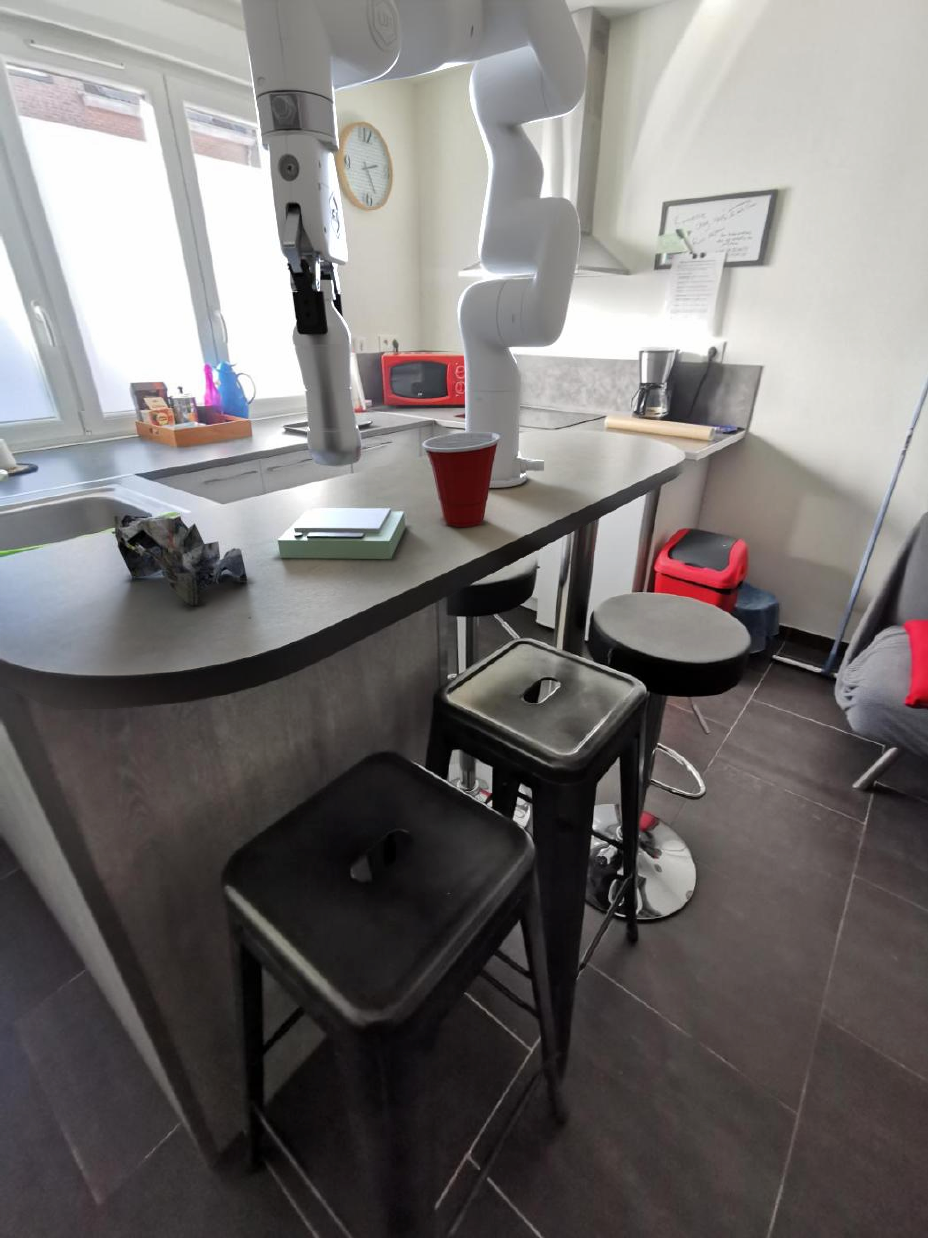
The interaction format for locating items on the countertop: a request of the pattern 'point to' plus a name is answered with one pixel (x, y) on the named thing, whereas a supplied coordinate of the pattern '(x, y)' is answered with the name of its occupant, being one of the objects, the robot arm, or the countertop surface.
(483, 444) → the plastic cup
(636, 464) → the countertop surface
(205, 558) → the crumpled newspaper
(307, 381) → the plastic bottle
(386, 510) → the scale
